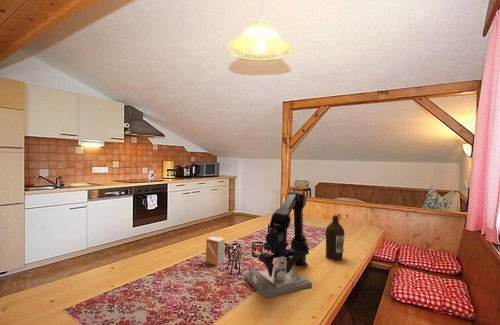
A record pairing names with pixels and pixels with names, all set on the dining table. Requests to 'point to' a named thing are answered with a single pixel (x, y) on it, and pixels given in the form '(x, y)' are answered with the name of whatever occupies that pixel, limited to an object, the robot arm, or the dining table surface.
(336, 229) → the olive oil
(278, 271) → the steel spacer
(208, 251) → the small box
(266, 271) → the kitchen scale
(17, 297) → the dining table surface
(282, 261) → the cylinder
